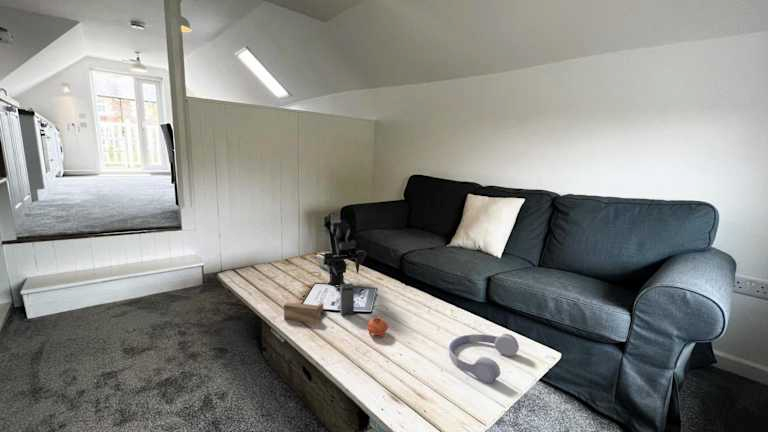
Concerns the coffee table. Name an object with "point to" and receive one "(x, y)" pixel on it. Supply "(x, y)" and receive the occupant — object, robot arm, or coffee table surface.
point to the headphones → (484, 366)
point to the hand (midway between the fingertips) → (347, 273)
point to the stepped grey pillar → (347, 299)
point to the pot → (377, 327)
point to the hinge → (321, 260)
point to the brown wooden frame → (303, 312)
